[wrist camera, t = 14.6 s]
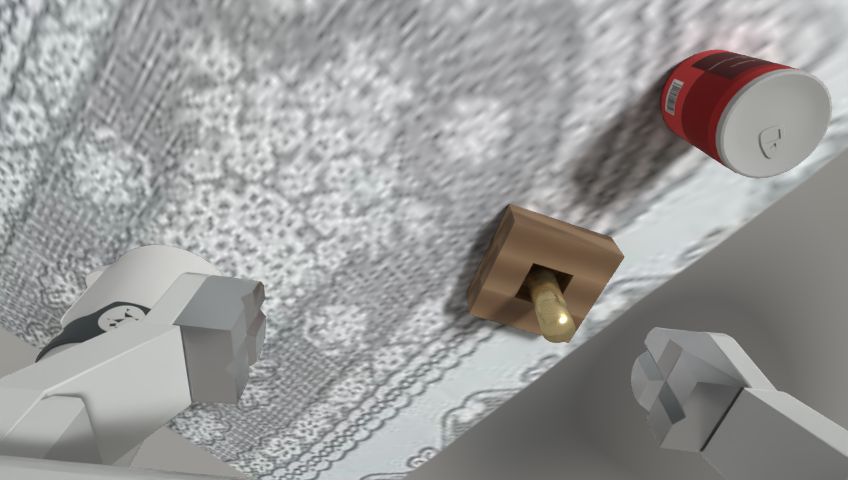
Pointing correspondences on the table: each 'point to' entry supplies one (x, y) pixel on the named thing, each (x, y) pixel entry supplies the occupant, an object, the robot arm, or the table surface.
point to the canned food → (746, 111)
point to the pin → (549, 304)
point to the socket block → (548, 246)
